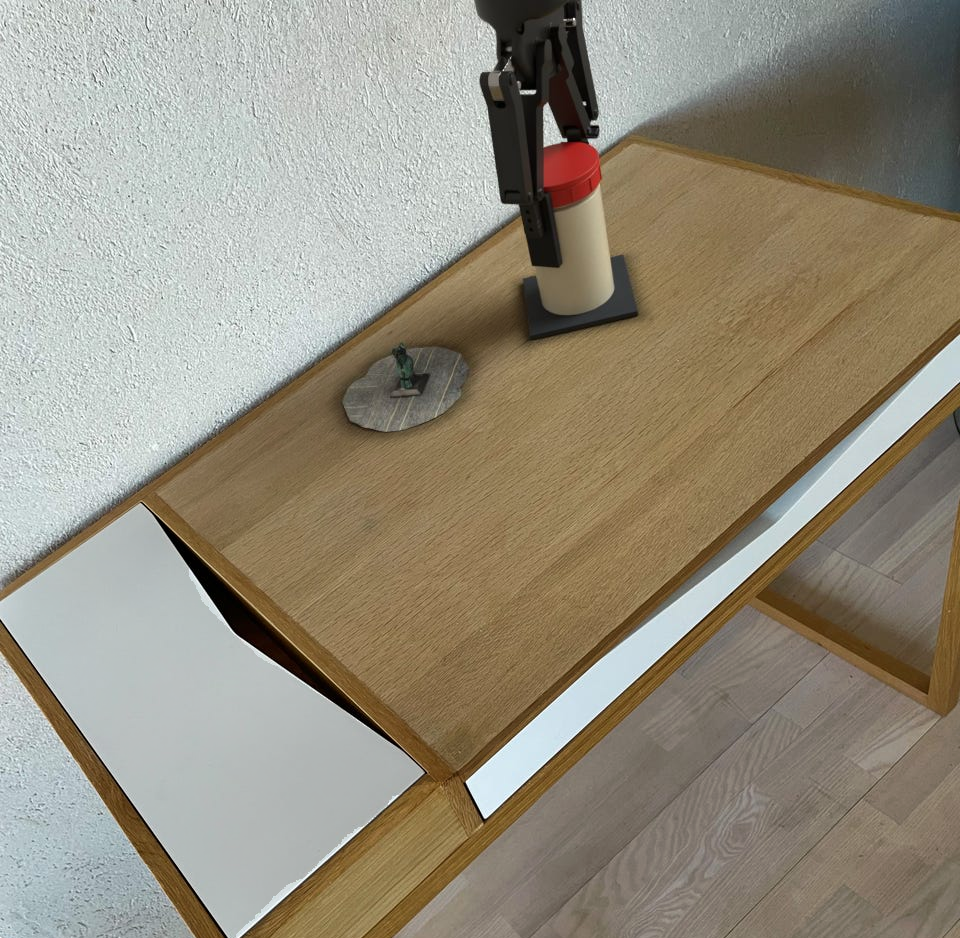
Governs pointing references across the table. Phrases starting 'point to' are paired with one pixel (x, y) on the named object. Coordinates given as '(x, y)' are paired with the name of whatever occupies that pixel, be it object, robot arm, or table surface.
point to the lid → (570, 172)
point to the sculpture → (406, 388)
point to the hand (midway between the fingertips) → (565, 238)
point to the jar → (578, 260)
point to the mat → (611, 310)
